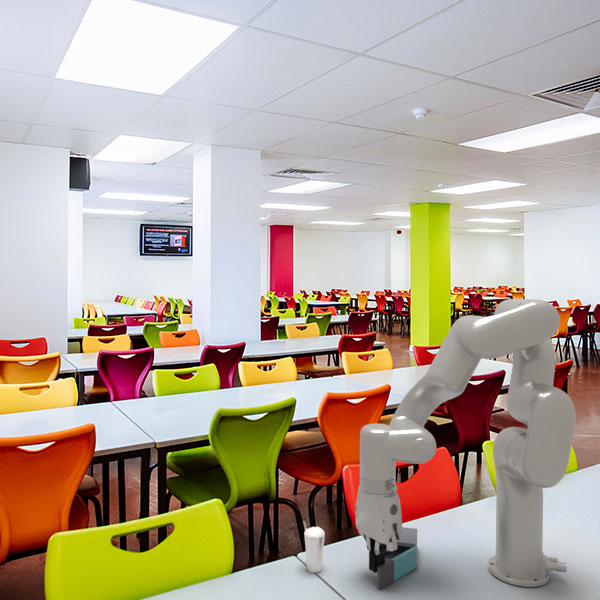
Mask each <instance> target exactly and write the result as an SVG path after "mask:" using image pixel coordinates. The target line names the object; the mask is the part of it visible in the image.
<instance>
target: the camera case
mask: <svg viewBox="0 0 600 600" xmlns="http://www.w3.org/2000/svg"><path fill="white" fill-rule="evenodd" d="M396 542H397V550H395V551H387V552H385V563H386V562H387V561H389V560H391V559H393V558H394V557H396V556H398V555H400V554H402V553H403V552H405V551H407V550H409V549H410V548H412V547H413V546H417V547H418V528H415V527H414V528H413V527H405V526H402V539H401V540H396ZM381 545H382V544H381Z"/></svg>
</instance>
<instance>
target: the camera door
mask: <svg viewBox="0 0 600 600" xmlns="http://www.w3.org/2000/svg"><path fill="white" fill-rule="evenodd" d="M418 550H419V547H418V545H417V546H413V547H412V548H410V549H409V550H407V551H405V552H403V553H402V554H400V555H398V556H396V557H394V558H393V559H391V560H389V561H387V562H385V563H384V564H382V565H380V566H378V572H377V589H379V590H382V589H384V588H385V587H387V586H389V585H391V584H392V583H393V582H395V581H397V580H399V579H400V578H401V577H403V576H405V575H407V574H409V573H410V572H411V571H413V570H415V569H417V568H418V565H419V563H418V561H419V560H418V559H419V551H418Z"/></svg>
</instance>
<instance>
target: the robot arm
mask: <svg viewBox="0 0 600 600" xmlns="http://www.w3.org/2000/svg"><path fill="white" fill-rule="evenodd" d="M560 323H561V317H560V314H559V311H558V310H557V308H556V307H555V306H554V305H553V304H551V303H550V302H548V301H546V300H542V299H529V298H508V299H504V300H503V301H501V302H500V303H498V305H497V306H496V308H495V310H494V314H493V315H489V316H481V315H472V314H470V315H464V316H461V317H459V318H458V319H456V320H455V322H454V323H453V324H452V325H451V327H450V329H449V331H448V332H447V335H446V336H445V338H444V340H443V342H442V344H441V345H440V347H439V350H438V351H437V353H436V355H435V356H434V358H433V360H432V362H431V364H430V365H429V367H428V369H427V371H426V373H425V374H424V375H423V376H422V377H421V378H420V379H419V380H418V381H417V382H416V383H415V384H414V385H413V386H412V388H410V389H409V391H408V392H407V393H406V394H405V396H404V397H403V398H402V400H401V402H399V404H398V407H397V409H396V410H395V412H394V413H393V416H392V417H391V420H390V422H389V424H385V423H369V424H365V425H363V426H362V428H360V432H359V486H358V490H357V495H356V502H355V527H356V529H357V531H358V534H359V535H360V536H362V538H364V541H365V543H366V545H365V546H366V549H367V551H368V570H369V571H371V572H372V573H378V566H380V565H382V564H384V563H386V562H385V552H387V551H395V550H397V542H396V540H401V539H402V527H403V520H402V515H403V514H402V509H401V508H402V506H401V501H400V496H399V493H398V492H397V491H398V488H399V487H398V486H397V484H396V478H397V477H396V476H397V475H396V474H397V473H396V469H397V468H396V467H397V466H396V463H397V462H398V463H406V464H407V463H408V464H414V465H416V464H419V465H420V464H426V463H427V462H429V461H430V460H432V459H433V457H434V456H435V454H436V453H437V443H436V439H435V437H434V435H433V434H432V433H431V432H430V431H429V430H427V429H426V428H425V424H426V423H427V421H428V419H429V418H430V416H431V414H433V412H434V411H435V410H436V409H437V408H438V407H439V406H441V404H443V403H445V402H447V401H449V400H453V399H454V398H457V397H459V396H460V395H462V394H464V393H463V392H465V389H466V387H467V385H468V384H469V382H470V381H471V379H472V376H473V375H474V373H475V371H476V369H477V367H478V365H479V363H480V362H481V360H482V359H483V360H493V359H497V358H501V357H505V356H508V355H513V356H512V358H513V359H512V367H511V374H510V379H509V387H508V392H507V397H506V409H507V411H508V413H509V415H510V416H511V417H512V418H513V419H515V420H517V421H518V422H520V423H523V424H524V425H526V426H527V429H526V428H523V427H517V426H511V427H506V428H504V429H502V430H501V431H500V432H499V433H498V434H497V435H496V437H495V439H494V441H493V446H492V457H493V458H492V459H493V464H494V470H495V481H496V483H495V484H496V488H495V489H496V495H495V496H496V500H495V501H496V503H495V507H496V509H495V510H496V511H495V513H496V515H495V555H493V556H491V557H490V558H489V559H488V562H487V563H488V565H487V566H488V571H489V572H490V573H491V574H492V575H493V576H494V577H495V578H496V579H498V580H500V581H502V582H504V583H507V584H509V585H514V586H517V587H523V588H536V587H541V586H544V585H546V584H548V583H549V581H550V579H551V571H555V572H557V573H564V574H565V573H567V571H568V567H567V563H566V562H562V561H559V559H558V557H553V556H552V557H548V556H546V554H544V552H543V544H544V543H543V541H544V540H543V537H544V536H543V532H544V528H543V527H544V525H543V524H544V489H549V488H553V487H555V486H557V485H559V483H560V482H561V481H562V480H563V478H564V476H565V474H566V473H567V471H568V467H569V461H570V457H571V452H572V451H571V450H572V445H573V439H574V433H575V428H576V420H577V419H576V417H577V416H576V408H575V405H574V402H573V400H572V398H571V397H570V396H569V394H567V393H566V392H565V391H564V390H562V389H560V388H558V387H555V386H554V380H555V379H554V378H555V371H556V370H555V369H556V350H555V347H554V344H553V341H552V338H553V337H554V336H555V335H556V333H557V331H558V329H559V328H560ZM381 544H382V545H381Z"/></svg>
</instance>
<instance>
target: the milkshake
mask: <svg viewBox="0 0 600 600" xmlns="http://www.w3.org/2000/svg"><path fill="white" fill-rule="evenodd" d="M302 522H303V526H304V529H305V531H304V533H303V534H304V544H305V545H304V546H305V557H306V558H305V560H306V570H307V571H308V572H309V573H311V574H317V573H320V572H321V571H322V569H323V561H324V548H325V547H324V544H325V536H326V535H325V534H326V533H325V530H323V528H321V527H320V526H312V527H309V528H307V524H306V522H305V520H303V521H302Z"/></svg>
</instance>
